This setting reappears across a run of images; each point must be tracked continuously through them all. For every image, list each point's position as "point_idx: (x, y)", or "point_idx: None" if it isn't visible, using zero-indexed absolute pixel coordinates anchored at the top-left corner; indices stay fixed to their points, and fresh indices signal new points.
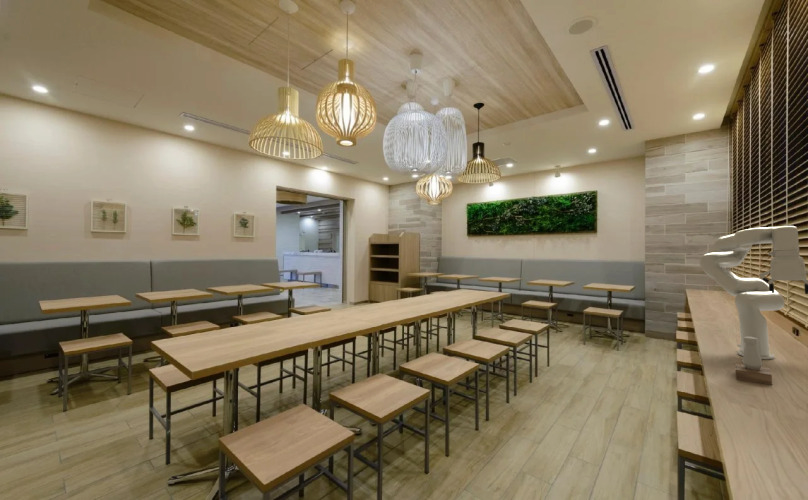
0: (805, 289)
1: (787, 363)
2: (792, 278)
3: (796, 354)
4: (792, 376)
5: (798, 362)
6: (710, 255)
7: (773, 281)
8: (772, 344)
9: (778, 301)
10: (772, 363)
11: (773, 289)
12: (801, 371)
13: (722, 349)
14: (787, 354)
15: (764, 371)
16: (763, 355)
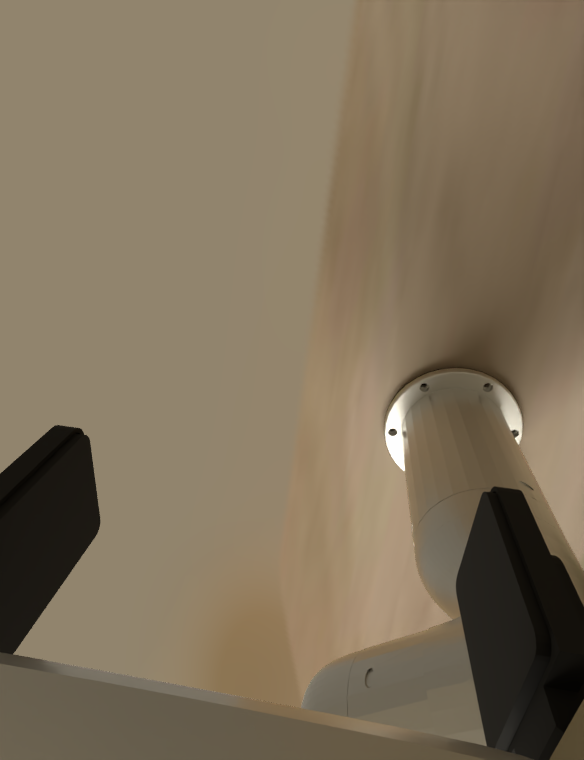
0: (35, 480)
1: (353, 348)
2: (43, 730)
3: (300, 511)
4: (375, 93)
5: (312, 387)
6: None
7: (568, 750)
8: (352, 626)
9: (343, 704)
10: (410, 317)
11: (509, 536)
12: (324, 227)
13: (565, 483)
14: (328, 499)
15: None
16: (430, 394)
